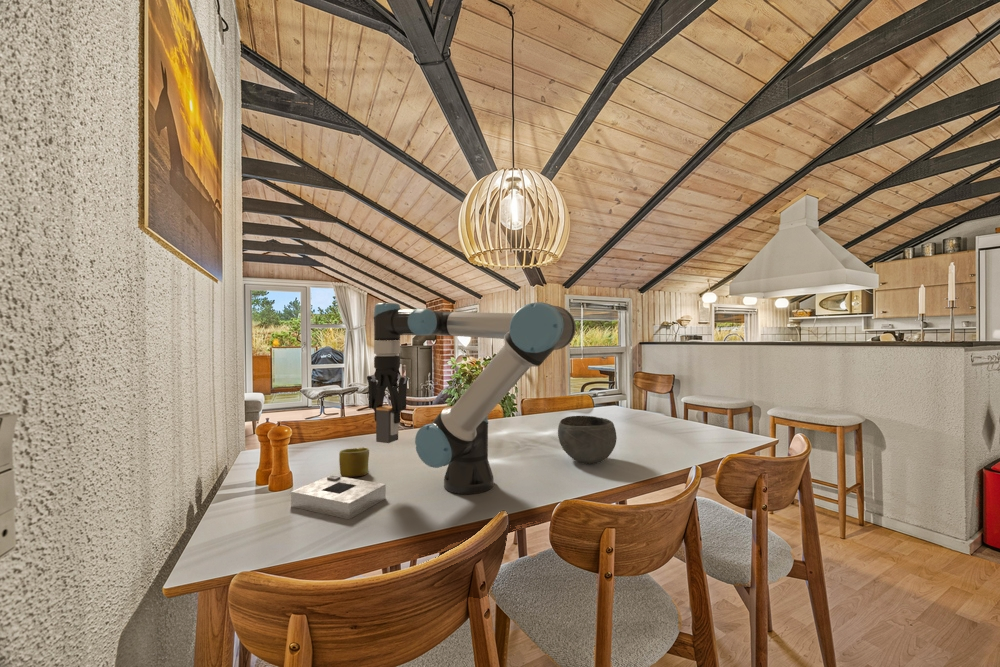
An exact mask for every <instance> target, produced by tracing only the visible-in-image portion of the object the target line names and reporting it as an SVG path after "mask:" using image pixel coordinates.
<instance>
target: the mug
mask: <svg viewBox="0 0 1000 667" xmlns="http://www.w3.org/2000/svg"><path fill="white" fill-rule="evenodd" d="M369 457H370V449H369V448H368V447H363V446H361V447H358V448H357V447H354V448H345V449H342V450H340V451H339V457H338V458H339V460H338V462H339V472H340V475H341V476H340V477H346V478H352V477H362V476H365V475H367V474H368V472H369V459H370V458H369Z"/></svg>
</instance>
